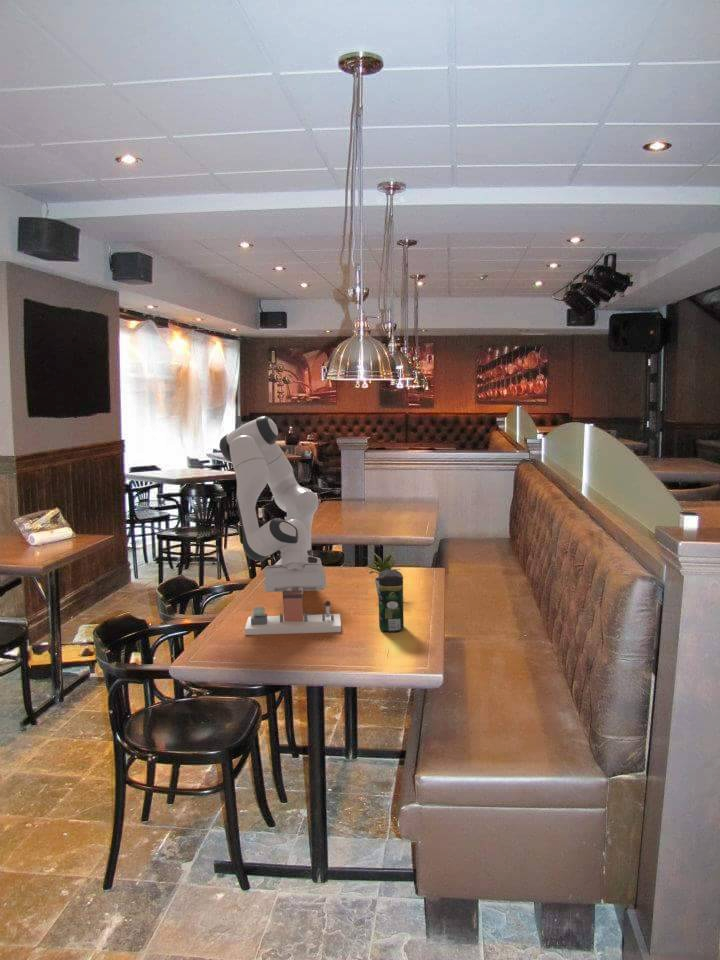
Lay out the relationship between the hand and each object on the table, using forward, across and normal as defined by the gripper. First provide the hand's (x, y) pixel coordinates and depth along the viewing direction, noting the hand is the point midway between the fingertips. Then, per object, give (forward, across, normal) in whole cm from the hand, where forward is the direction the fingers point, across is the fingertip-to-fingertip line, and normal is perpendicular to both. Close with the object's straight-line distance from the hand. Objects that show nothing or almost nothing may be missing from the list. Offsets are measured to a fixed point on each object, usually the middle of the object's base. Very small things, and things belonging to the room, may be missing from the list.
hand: (295, 601), depth 234 cm
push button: (+3, -12, +2) cm, 12 cm away
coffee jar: (+10, +30, +3) cm, 32 cm away
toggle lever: (+5, +10, +3) cm, 12 cm away
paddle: (+4, -1, +3) cm, 6 cm away
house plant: (-17, +32, +30) cm, 47 cm away
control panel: (+6, -1, +5) cm, 8 cm away
